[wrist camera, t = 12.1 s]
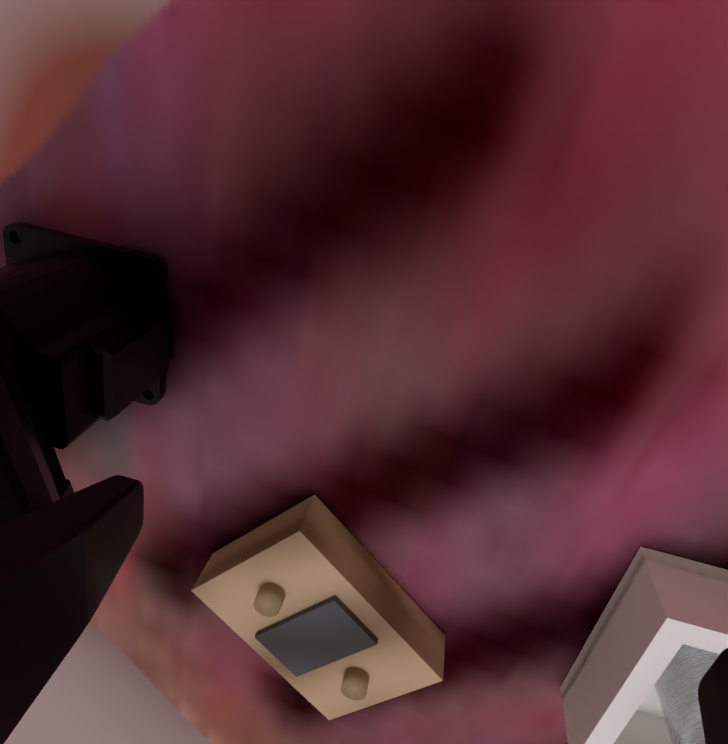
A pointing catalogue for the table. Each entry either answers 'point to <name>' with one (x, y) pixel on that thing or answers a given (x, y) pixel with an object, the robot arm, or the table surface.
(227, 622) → the block
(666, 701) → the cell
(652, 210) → the table surface
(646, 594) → the tray
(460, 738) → the table surface
